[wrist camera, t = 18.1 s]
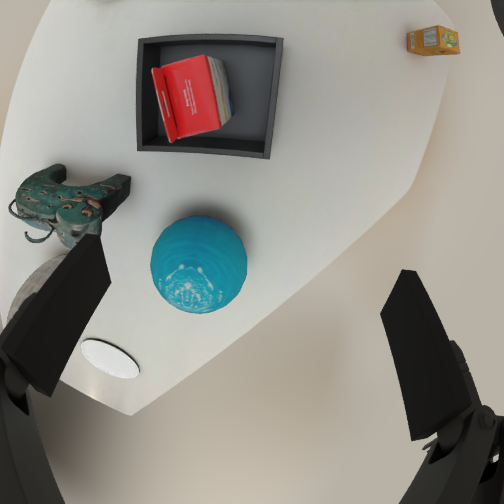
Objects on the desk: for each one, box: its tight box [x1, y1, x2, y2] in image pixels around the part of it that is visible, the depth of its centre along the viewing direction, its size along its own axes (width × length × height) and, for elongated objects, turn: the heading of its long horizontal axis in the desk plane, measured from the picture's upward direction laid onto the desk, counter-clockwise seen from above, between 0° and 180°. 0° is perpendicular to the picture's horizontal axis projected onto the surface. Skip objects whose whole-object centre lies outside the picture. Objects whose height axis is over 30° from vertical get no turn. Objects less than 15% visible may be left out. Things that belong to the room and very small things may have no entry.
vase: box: [6, 255, 67, 325], centre depth 45 cm, size 13×13×28 cm
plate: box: [81, 340, 139, 379], centre depth 78 cm, size 21×21×1 cm
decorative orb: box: [150, 216, 247, 314], centre depth 44 cm, size 15×15×15 cm
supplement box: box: [407, 25, 460, 56], centre depth 24 cm, size 3×3×10 cm
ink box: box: [151, 55, 235, 143], centre depth 29 cm, size 8×5×15 cm, turn 10°
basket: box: [136, 34, 284, 159], centre depth 33 cm, size 18×16×7 cm
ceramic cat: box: [9, 164, 131, 249], centre depth 36 cm, size 20×6×20 cm, turn 75°
